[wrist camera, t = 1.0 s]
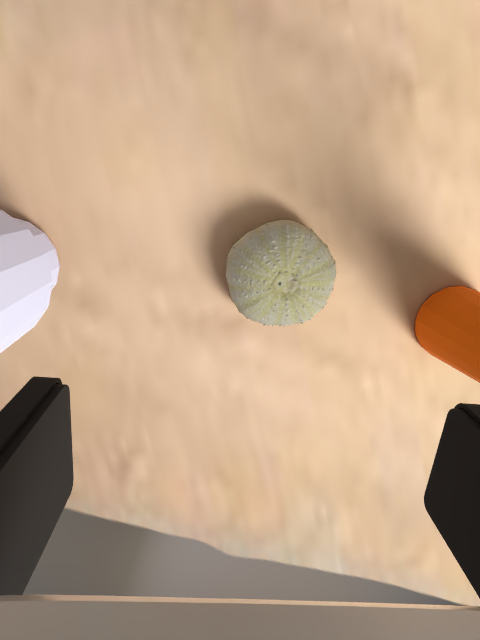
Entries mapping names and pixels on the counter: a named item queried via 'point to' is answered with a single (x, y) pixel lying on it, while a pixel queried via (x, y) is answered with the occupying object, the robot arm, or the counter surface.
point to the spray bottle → (452, 328)
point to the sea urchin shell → (280, 273)
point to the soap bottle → (24, 277)
